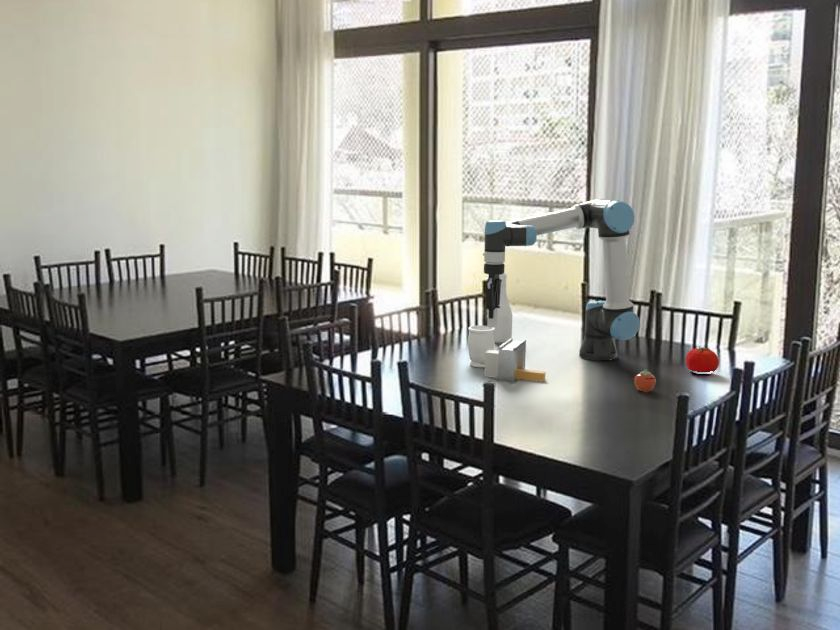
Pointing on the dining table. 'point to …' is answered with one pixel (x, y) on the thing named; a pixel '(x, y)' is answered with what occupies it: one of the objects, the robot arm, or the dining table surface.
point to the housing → (511, 360)
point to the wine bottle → (503, 315)
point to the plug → (492, 369)
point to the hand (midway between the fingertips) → (492, 326)
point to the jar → (480, 343)
